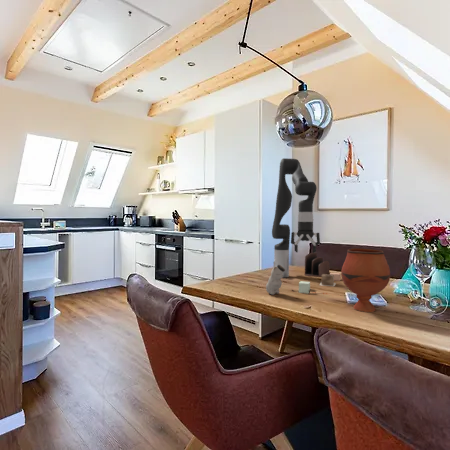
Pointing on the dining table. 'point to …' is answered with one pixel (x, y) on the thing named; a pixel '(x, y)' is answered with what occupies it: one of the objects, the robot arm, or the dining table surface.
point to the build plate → (327, 285)
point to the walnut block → (327, 279)
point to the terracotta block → (336, 276)
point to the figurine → (275, 280)
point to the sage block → (304, 287)
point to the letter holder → (315, 265)
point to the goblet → (365, 275)
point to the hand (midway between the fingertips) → (305, 252)
